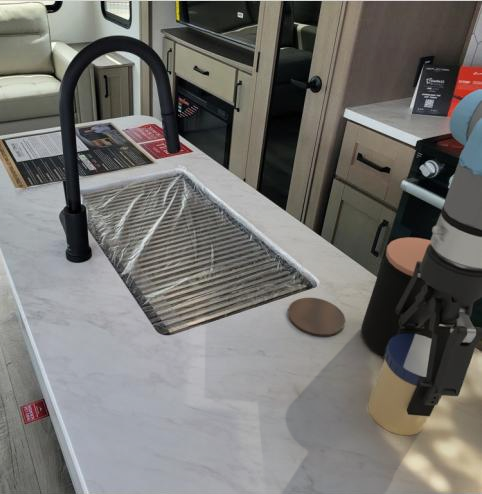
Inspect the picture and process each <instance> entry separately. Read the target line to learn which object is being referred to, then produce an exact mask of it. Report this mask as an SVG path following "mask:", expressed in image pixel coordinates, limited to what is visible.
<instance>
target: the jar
mask: <svg viewBox="0 0 482 494" xmlns="http://www.w3.org/2000/svg"><path fill="white" fill-rule="evenodd" d="M416 387H417V385H414V384H411V383H409V382H407V381H405V380H403V379H401V378H400V377H399V376H397V375H396V374H395V373H394V372H393V371H392V370H391V369H390V368H389V366H388V365H387V363H386V361H385V358H384V360H383V362H382V365H381V367H380V370H379V373H378V375H377V377H376V381H375V384H374V386H373V388H372V391H371V394H370V396H369V400H368V403H367V407H368V411H369V414H370V415H371V417H372V419H373V420H374V421H375V422H376V423H377V424H378V425H379V426H381V428H382V429H385V430H387V431H389V432H391V433H393V434H395V435H399V436H414V435H416V434H419V433H420V432H421V431H422V430H423V429H424V427H425V425H426V423H427V421H428V419H429V417H430V416H418V415H408V413H407V407H408V405H409V403H410V401H411V398H412V396H413V394H414V392H415V390H416Z"/></svg>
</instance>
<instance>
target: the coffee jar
mask: <svg viewBox="0 0 482 494" xmlns="http://www.w3.org/2000/svg"><path fill="white" fill-rule="evenodd" d="M430 240H431V239H427V238H421V237H409V236H408V237H407V236H406V237H400V238H397V239H394V240H392V241H390V242H389V244H387V245H386V251H385V256H384V257H383V258H382V261H381V264H380V267H379V270H378V274H377V277H376V279H375V283H374V286H373V289H372V291H371V295H370V298H369V301H368V304H367V308H366V311H365V314H364V316H363V320H362V322H361V323H362V324H361V329H360V331H361V335H362V338H363V340H364V342H365V344H366V345H367V346H368V348H369V349H370V350H371V351H373V352H374V353H376V355H379V356H380V357H383V358H385V355H384V354H385V349H386V346H387V344H388V343H389V341H390V339H391V338H393V337H394V336H396V335H397V333H398V330H399V328H400V326H399V319H400V318H401V317H400V315H397V314H396V307H397V305H398V303H399V301H400V299H401V298H402V296H403V294H404V292H405V290H406V288H407V286H408V284H409V282H410V280H411V278H412V276H413V274H414V270H415V266H416V263H417V262H418V261H421V262H422V260H423V257H424V254H425V252H426V249H427V247H428V245H429V244H430V243H431V242H430ZM406 307H411V306H406ZM429 324H430V318H429V319H428V320H426V321H425V322H424V326H423V327H424V328H415V329H414V330H419V331H420V333H421V335H422V336H425V337H428V338H430V339H432V331H430V329H429ZM439 326H441V324H439Z"/></svg>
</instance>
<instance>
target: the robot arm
mask: <svg viewBox="0 0 482 494" xmlns="http://www.w3.org/2000/svg"><path fill="white" fill-rule="evenodd" d="M449 132H450V133H451V136H452V138H454V140H456V141H457V142H458V143H460V144H461V145H462V146H464V147H463V149H462V150H461V152H460V155H459V159H458V163H457V166H456V168H455V171H454V174H453V177H452V179H451V183H450V185H449V188H448V190H447V194H446V197H445V200H444V202H443V205H442V207H441V212H440V214H439V217H438V219H437V222H436V224H435V225H434V226H433V227H432V229H431V232H432V235H431V237H430V239H429V240H430V242H431V243H430V244H429V245H428V247H427V249H426V252H425V254H424V257H423V260H422V262H421V261H418V262H417V263H416V266H415V270H414V274H413V276H412V278H411V280H410V282H409V284H408V286H407V288H406V290H405V292H404V294H403V296H402V298H401V299H400V301H399V303H398V305H397V307H396V314H397V315H400V317H401V318H400V319H399V326H400V328H399V330H398V333H397V335H399V334H403V333H412V334H418V335H421V333H420V331H419V330H414V329H415V328H424V327H423V326H424V322H425V321H426V320H428V319H429V318H430V324H429V329H430V331H432V340H431V347H430V354H429V361H428V367H427V374H426V377H421V378H420V379H419V383H418V385H417V387H416V390H415V392H414V394H413V396H412V398H411V401H410V403H409V405H408V407H407V413H408V415H418V416H429V417H431V414H432V413H433V411H434V409H435V407H436V406H437V405H438V404H439V402H440V400H441V398H442V396H446V397H459V395H460V393H461V390H462V387H463V384H464V382H465V378H466V376H467V372H468V370H469V367H470V364H471V361H472V357H473V355H474V352H475V349H476V347H477V345H478V344H479V342H480V341H481V340H482V327H480V326H474V325H473V323H472V321H471V316H472V313H473V308H474V307H473V306H474V303H475V302H477V301H478V300H479V299H482V89H481V88H480V89H476V90H474V91H472V92H470V93H469V94H467V95H465V96H464V97H463V98H462V99H461V100H460V101H459V102H458V103H457V104H456V106H455V107H454V109H453V110H452V112H451V115H450V119H449ZM406 306H411V307H406ZM439 324H440V325H439Z"/></svg>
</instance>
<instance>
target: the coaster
mask: <svg viewBox="0 0 482 494" xmlns="http://www.w3.org/2000/svg"><path fill="white" fill-rule="evenodd" d="M287 317H288V319H289V321H290V323H291V324H292V325H293V326H294V327H295V328H296V329H298V330H300V331H301V332H303V333H306V334H307V335H311V336H314V337H321V338H325V337H333V336H336V335H337V334H339V333H341V332H342V331H343V330H344V327H345V325H346V318H345V315H344V313H343V312H342V310H341V309H340V308H339V307H338V306H336V305H335V304H333V303H331V302H329V300H325V299H322V298H317V297H301V298H298V299H296V300H294V301H292V303H291V304H290V305H289V307H288V309H287Z"/></svg>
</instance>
